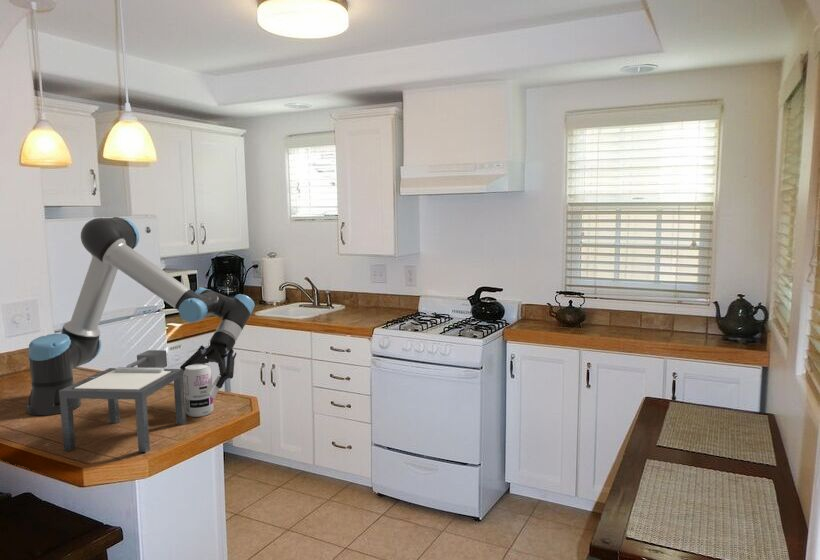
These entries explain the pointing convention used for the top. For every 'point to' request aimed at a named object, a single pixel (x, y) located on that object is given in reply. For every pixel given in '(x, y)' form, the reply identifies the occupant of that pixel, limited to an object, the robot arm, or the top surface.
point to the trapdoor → (132, 373)
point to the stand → (113, 405)
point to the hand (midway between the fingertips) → (194, 393)
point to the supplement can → (198, 390)
